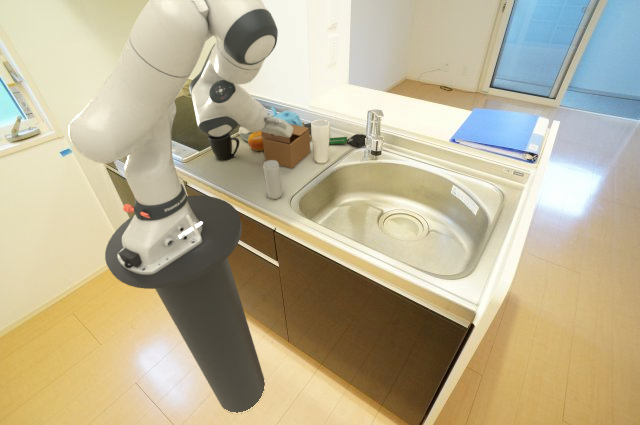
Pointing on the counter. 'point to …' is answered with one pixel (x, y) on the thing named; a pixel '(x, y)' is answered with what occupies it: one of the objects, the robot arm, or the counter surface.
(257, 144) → the fruit
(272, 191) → the beverage can
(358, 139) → the rock
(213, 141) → the mug
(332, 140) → the business card
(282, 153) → the carton
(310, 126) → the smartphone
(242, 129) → the arrowhead
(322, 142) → the drinking glass
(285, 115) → the teapot
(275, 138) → the flap
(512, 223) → the counter surface
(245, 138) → the rock
